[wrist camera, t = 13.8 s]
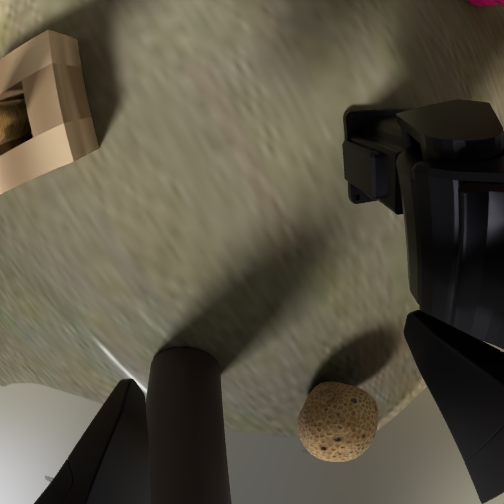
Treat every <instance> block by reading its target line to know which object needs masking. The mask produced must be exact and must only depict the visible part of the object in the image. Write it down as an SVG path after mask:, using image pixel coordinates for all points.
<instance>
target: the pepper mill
mask: <svg viewBox="0 0 504 504" xmlns="http://www.w3.org/2000/svg"><path fill="white" fill-rule="evenodd" d="M467 1H469V2H470V3H472V4H473V5H476V6H491V5H495V4H497V3H498V4H500V5H502V6H503V7H504V0H467Z"/></svg>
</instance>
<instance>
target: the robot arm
mask: <svg viewBox="0 0 504 504" xmlns="http://www.w3.org/2000/svg"><path fill="white" fill-rule="evenodd" d="M351 115H352V116H353V121H352V122H350V121H349V117H350V116H351ZM343 122H344V132H345V141H344V143H343V158H344V174H345V179H346V180H347V181H348V196H349V199H350V201H351V202H353V203H354V204H359V203H365V202H371V201H377V200H378V201H380V202H381V203H382V204H384V205H385V206H386V207H388V208H389V209H390V210H392V211H393V212H394V213H396V214H398V215H399V214H404V223H405V233H406V245H407V259H408V279H409V286H410V291H411V293H412V295H413V296H414V298H415V300H416V301H417V303H418V304H419V305H420V310H416V311H413V312H411V313H409V314H408V315H407V319H406V323H405V328H404V336H405V339H406V341H407V343H408V346H409V348H410V350H411V353H412V355H413V357H414V360H415V362H416V364H417V367H418V369H419V371H420V373H421V375H422V377H423V379H424V381H425V383H426V385H427V386H428V388H429V390H430V392H431V394H432V396H433V397H434V399H435V401H436V403H437V405H438V407H439V409H440V411H441V413H442V415H443V417H444V419H445V421H446V423H447V425H448V427H449V429H450V431H451V433H452V436H453V438H454V440H455V442H456V444H457V446H458V448H459V451H460V453H461V455H462V457H463V459H464V461H465V465H466V467H467V469H468V471H469V474H470V476H471V479H472V481H473V483H474V486H475V489H476V491H477V494H478V496H479V499H480V501H481V503H482V504H483V503H485V502H487V501H489V500H491V499H493V498H495V497H497V496H498V495H500V494H502V493H503V492H504V352H501V351H500V350H498V349H497V348H494V347H492V346H491V345H489V344H487V343H490V344H493V345H496V346H498V347H500V348H502V349H504V131H503V127H502V125H501V123H500V121H499V120H498V118H497V116H496V114H495V112H494V110H493V109H492V107H491V105H490V103H487V102H479V101H469V100H453V101H448V102H443V103H438V104H434V105H429V106H425V107H420V108H416V109H412V110H361V111H348V112H346V113H345V114H344V116H343ZM355 194H358V197H357V198H355V199H354V196H355ZM483 341H485V342H487V343H485V342H483ZM34 504H151V503H150V480H149V434H148V424H147V414H146V402H145V396H144V393H143V391H142V390H141V389H140V387H139V386H138V385H137V383H136V382H135V381H134V380H133V379H122V380H120V381H119V383H118V384H117V386H116V387H115V388H114V390H113V391H112V393H111V394H110V396H109V397H108V399H107V400H106V401H105V403H104V404H103V406H102V407H101V409H100V410H99V412H98V413H97V415H96V416H95V418H94V419H93V420H92V422H91V424H90V425H89V427H88V428H87V429H86V431H85V432H84V434H83V435H82V437H81V439H80V440H79V441H78V443H77V444H76V446H75V448H74V449H73V451H72V452H71V454H70V455H69V457H68V459H67V460H66V461H65V463H64V464H63V466H62V467H61V469H60V470H59V472H58V473H57V475H56V476H55V478H54V479H53V480H52V481H51V483H50V484H49V486H48V487H47V488H46V489H45V490H44V492H43V493H42V494H41V496H40V497H39V498H38V499H37V501H36V502H35V503H34Z"/></svg>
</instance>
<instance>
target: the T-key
mask: <svg viewBox="0 0 504 504" xmlns="http://www.w3.org/2000/svg"><path fill="white" fill-rule="evenodd" d="M30 134H32V131H31V126H30V122H29V117H28V113H27V108H26V103H25V99H22V100H14V101H6V102H0V144H3V143H6V142H9V141H11V140H14V139H17V138H20V137H23V136H26V135H30Z"/></svg>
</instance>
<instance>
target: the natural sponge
mask: <svg viewBox="0 0 504 504" xmlns="http://www.w3.org/2000/svg"><path fill="white" fill-rule="evenodd" d="M378 414H379V409H378V406H377V403H376V401H375V400H374V398H373V397H372V396H370V395H369V394H368V393H367V392H365V391H364V390H362V389H360V388H358V387H355V386H352V385H347V384H343V383H338V382H322V383H320V384H318V385H317V386H315V387H314V389H313V390H312V391H311V392H310V394H309V396H308V398H307V400H306V402H305V404H304V406H303V408H302V410H301V412H300V414H299V416H298V419H297V432H298V435H299V437H300V439H301V441H302V443H303V445H304V447H305V448H306V449H307V450H308V452H310V453H311V454H312V455H314V456H315V457H317V458H319V459H322V460H325V461H333V462H343V461H348V460H352V459H354V458H356V457H358V456H359V455H361V454H362V453H363V452H364V451H365V450H366V449H367V448H368V447H369V446H370V444H371V442H372V441H373V438H374V436H375V434H376V430H377V424H378Z"/></svg>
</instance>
